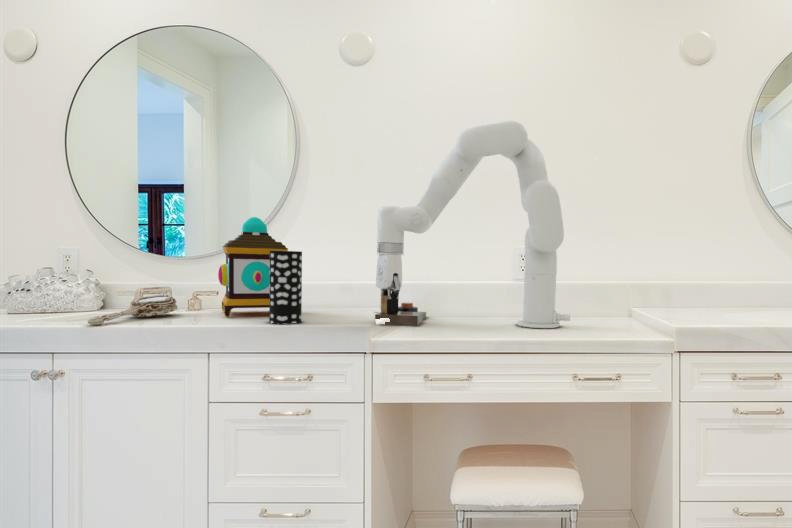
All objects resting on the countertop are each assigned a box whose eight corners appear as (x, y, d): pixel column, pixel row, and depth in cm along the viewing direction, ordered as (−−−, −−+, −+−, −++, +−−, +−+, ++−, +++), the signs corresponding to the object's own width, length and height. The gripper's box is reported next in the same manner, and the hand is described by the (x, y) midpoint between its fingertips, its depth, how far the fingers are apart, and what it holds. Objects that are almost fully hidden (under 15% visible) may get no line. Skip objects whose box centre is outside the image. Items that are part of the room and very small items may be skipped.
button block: (426, 317, 178) (426, 306, 178) (422, 320, 169) (422, 309, 169) (392, 316, 178) (392, 305, 177) (386, 319, 169) (386, 308, 168)
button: (413, 308, 175) (413, 302, 175) (411, 309, 171) (411, 303, 171) (402, 307, 175) (402, 302, 175) (400, 308, 171) (400, 303, 171)
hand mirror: (65, 315, 135) (150, 294, 165) (72, 337, 136) (155, 313, 166) (105, 307, 134) (183, 288, 164) (112, 330, 135) (188, 307, 165)
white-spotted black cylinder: (290, 319, 160) (290, 251, 159) (307, 322, 155) (308, 251, 154) (263, 322, 153) (263, 250, 152) (280, 325, 149) (280, 251, 147)
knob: (378, 312, 161) (378, 294, 160) (394, 311, 163) (394, 293, 163) (383, 313, 157) (384, 295, 156) (400, 313, 159) (400, 295, 159)
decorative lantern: (219, 318, 157) (219, 213, 155) (216, 311, 174) (216, 216, 172) (294, 316, 167) (294, 217, 165) (284, 309, 184) (284, 220, 182)
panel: (422, 322, 165) (422, 311, 165) (417, 326, 155) (417, 315, 155) (377, 320, 165) (377, 310, 165) (369, 324, 155) (369, 313, 155)
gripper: (368, 248, 164) (368, 309, 165) (387, 249, 149) (385, 315, 151) (393, 249, 168) (392, 309, 169) (413, 250, 153) (411, 315, 155)
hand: (389, 311), depth 160 cm, fingers closed on knob, 4 cm apart
